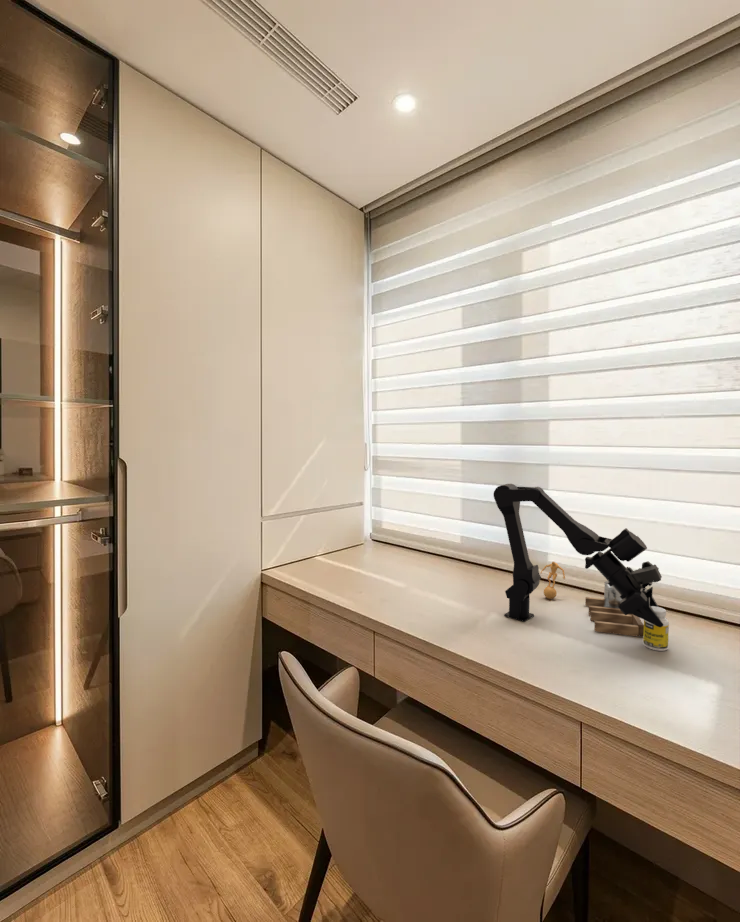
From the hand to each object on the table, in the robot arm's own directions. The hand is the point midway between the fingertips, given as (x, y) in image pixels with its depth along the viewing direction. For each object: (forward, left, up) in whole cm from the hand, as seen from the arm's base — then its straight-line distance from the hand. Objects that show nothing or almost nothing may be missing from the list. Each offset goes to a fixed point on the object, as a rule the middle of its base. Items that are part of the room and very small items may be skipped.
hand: (662, 622), depth 117 cm
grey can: (+16, +17, -7) cm, 24 cm away
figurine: (+16, +35, -7) cm, 39 cm away
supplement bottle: (0, +1, -7) cm, 7 cm away
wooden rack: (+11, +15, -7) cm, 20 cm away
